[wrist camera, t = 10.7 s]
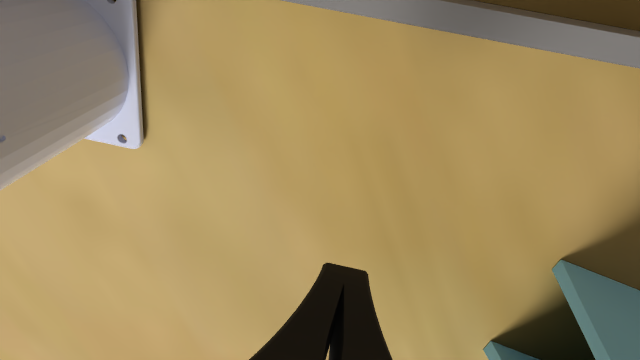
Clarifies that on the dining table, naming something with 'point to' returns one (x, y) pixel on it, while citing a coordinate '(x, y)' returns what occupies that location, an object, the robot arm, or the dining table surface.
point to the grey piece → (502, 26)
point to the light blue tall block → (593, 315)
